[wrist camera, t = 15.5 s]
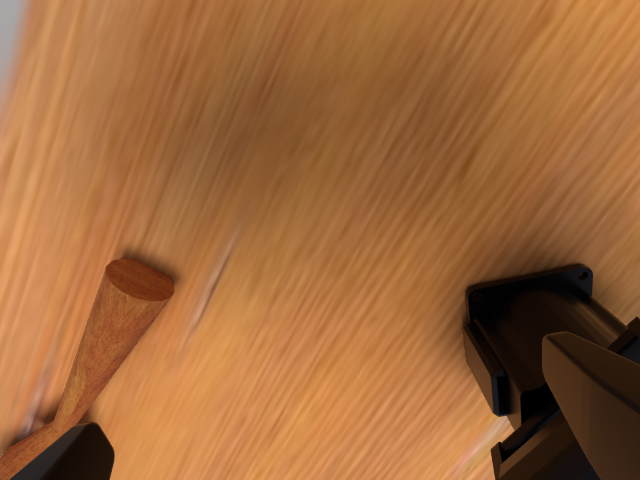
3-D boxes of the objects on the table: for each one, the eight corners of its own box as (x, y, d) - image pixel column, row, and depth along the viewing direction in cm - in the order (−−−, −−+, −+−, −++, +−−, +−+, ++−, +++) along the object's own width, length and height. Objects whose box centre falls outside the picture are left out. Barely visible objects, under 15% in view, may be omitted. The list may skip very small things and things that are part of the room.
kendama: (195, 337, 19) (40, 595, 24) (200, 272, 24) (72, 495, 29) (54, 289, 16) (-85, 587, 22) (93, 229, 22) (-26, 480, 27)
